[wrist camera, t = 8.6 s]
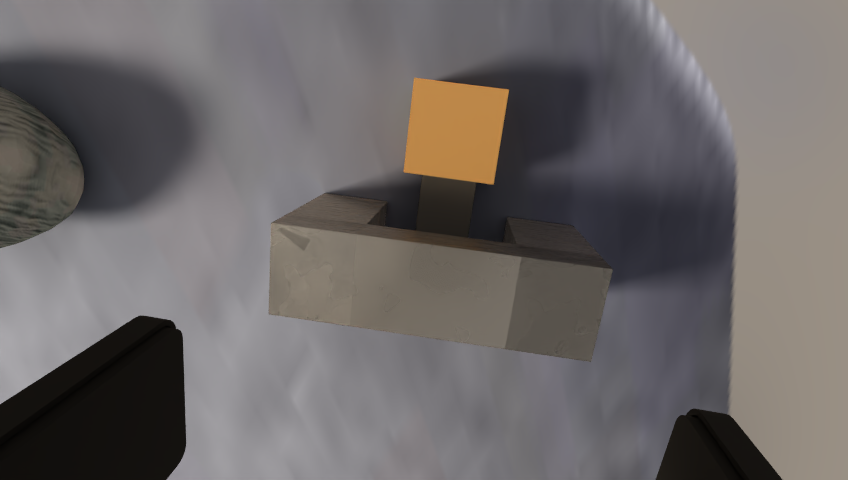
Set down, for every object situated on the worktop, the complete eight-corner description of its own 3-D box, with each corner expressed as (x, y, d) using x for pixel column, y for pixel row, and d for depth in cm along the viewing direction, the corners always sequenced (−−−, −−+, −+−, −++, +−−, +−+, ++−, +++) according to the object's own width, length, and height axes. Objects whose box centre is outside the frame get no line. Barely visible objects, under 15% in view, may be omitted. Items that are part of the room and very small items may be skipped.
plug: (468, 303, 27) (468, 337, 23) (399, 293, 27) (386, 325, 23) (502, 93, 24) (509, 89, 20) (423, 83, 24) (414, 77, 20)
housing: (558, 295, 26) (591, 361, 19) (320, 261, 27) (268, 314, 20) (573, 225, 25) (612, 269, 18) (324, 193, 26) (271, 223, 19)
